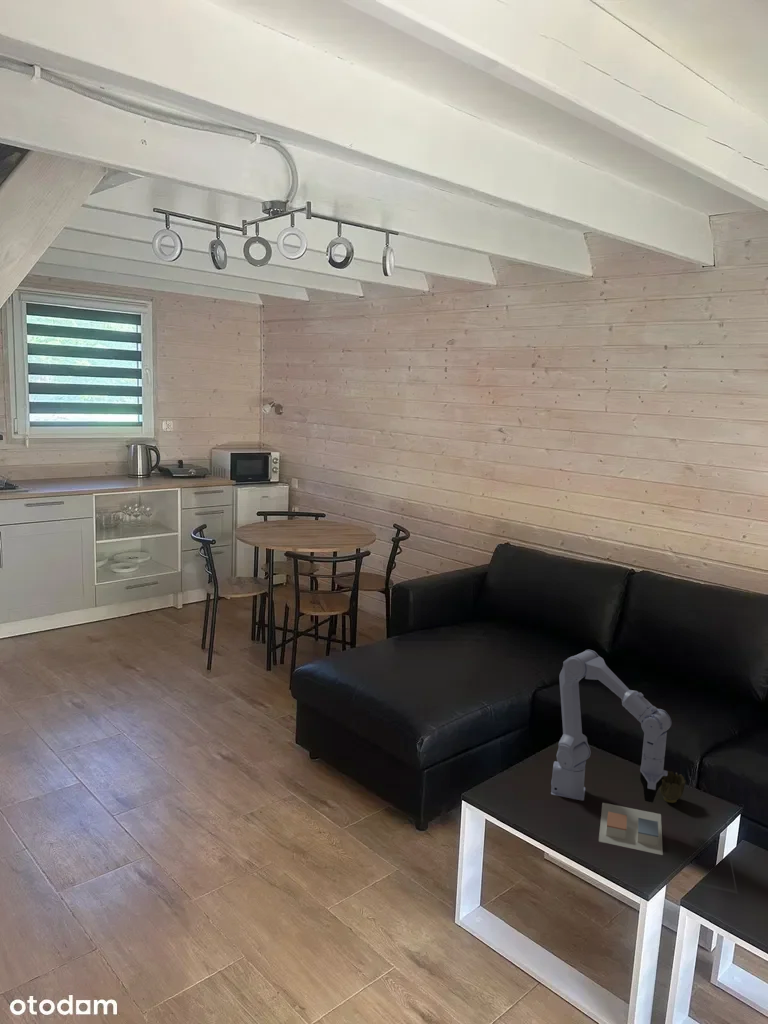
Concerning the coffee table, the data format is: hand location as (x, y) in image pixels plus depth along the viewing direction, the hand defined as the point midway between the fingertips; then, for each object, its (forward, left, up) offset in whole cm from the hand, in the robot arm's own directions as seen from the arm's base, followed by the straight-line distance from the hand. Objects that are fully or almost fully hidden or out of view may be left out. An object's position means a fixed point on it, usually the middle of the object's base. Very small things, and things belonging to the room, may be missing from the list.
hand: (648, 800), depth 199 cm
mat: (-4, -2, -8) cm, 9 cm away
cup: (+7, +17, -8) cm, 20 cm away
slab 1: (-8, -2, -6) cm, 10 cm away
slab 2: (0, -2, -6) cm, 6 cm away
